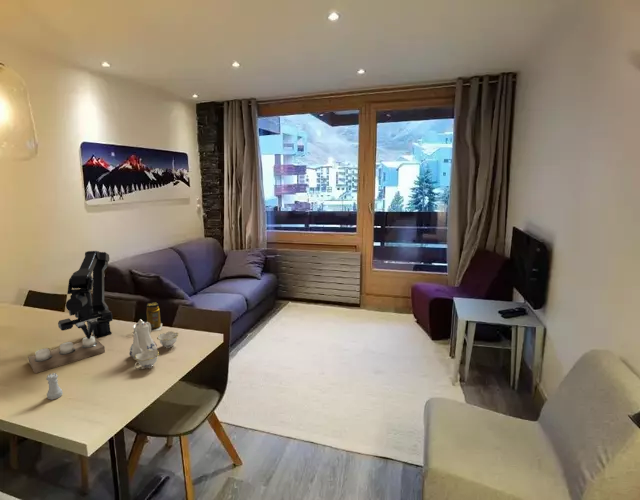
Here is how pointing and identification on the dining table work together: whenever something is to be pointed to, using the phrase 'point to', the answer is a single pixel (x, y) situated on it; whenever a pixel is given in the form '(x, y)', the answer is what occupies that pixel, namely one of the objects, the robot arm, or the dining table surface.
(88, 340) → the knob
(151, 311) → the condiment
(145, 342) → the chinaware
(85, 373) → the dining table surface
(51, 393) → the rook chess piece
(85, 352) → the knob rail
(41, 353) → the knob
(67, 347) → the knob mid
